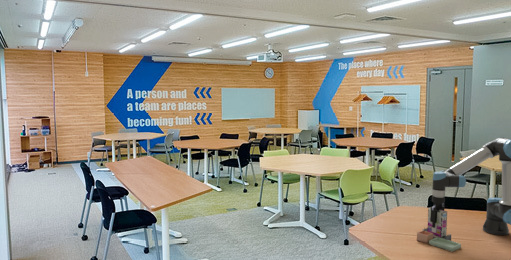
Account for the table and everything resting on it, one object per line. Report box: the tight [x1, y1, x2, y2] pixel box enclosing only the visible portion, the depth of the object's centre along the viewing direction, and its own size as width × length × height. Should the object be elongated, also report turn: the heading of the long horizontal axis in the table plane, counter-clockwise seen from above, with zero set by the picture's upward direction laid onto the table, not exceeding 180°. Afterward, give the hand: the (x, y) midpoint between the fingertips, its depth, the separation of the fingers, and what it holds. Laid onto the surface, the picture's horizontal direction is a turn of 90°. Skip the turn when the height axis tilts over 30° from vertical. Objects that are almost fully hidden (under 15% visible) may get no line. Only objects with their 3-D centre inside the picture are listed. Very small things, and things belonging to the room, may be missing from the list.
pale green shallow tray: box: [428, 237, 462, 253], centre depth 240 cm, size 10×14×2 cm
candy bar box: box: [427, 207, 448, 237], centre depth 252 cm, size 11×5×16 cm, turn 24°
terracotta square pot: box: [416, 229, 433, 244], centre depth 248 cm, size 7×7×5 cm
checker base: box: [422, 226, 452, 241], centre depth 253 cm, size 6×16×5 cm, turn 37°
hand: (436, 231), depth 253 cm, fingers closed on candy bar box, 6 cm apart
